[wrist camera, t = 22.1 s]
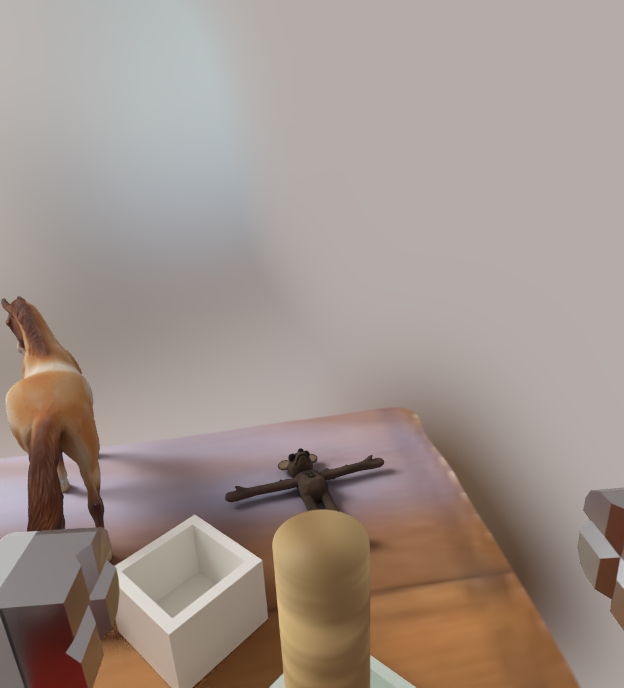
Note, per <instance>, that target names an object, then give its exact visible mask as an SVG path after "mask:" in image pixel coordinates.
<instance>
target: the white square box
mask: <svg viewBox="0 0 624 688" xmlns="http://www.w3.org/2000/svg"><path fill="white" fill-rule="evenodd" d="M114 567H116V569H117V574H118V579H119V593H120V595H119V603H118V611H117V615H116V619H115V620H116V624H117V629H118V632H119V633H120V634H121V635H122V636H123V637H124V638H125V639H126V640H127V641H128V642H129V643H130V644H131V645H132V646H133V647H134V649H135V650H136V651H137V652H138V653H139V654H140V655H141V656H142V657H143V658H144V659H145V660H146V661H147V662H148V663H149V664H150V666H151V667H152V668H153V669H154V670H155V671H156V672H157V673H158V674H159V675H160V676H161V677H162V678H163V679H164V680H165V681H166V682H167V684H168V685H169V686H170V687H171V688H193V687H194V686H195V685H196V684H197V683H198V682H199V681H200V680H201V679H202V678H204V677H205V676H206V675H207V674H208V673H209V672H210V671H211V670H212V669H213V668H215V667H216V666H217V665H218V664H219V663H220V662H221V661H222V660H223V659H224V658H226V657H227V656H228V655H229V654H230V653H231V652H232V651H233V650H234V649H235V648H237V647H238V646H239V645H240V644H241V643H242V642H243V641H244V640H245V639H246V638H248V637H249V636H250V635H251V634H252V633H253V632H254V631H255V630H256V629H257V628H259V627H260V626H261V625H262V624H263V623H264V622H265V621H266V620H267V619H268V612H267V602H266V592H265V582H264V572H263V562H262V560H261V559H260V558H258V557H257V556H255V555H254V554H252V553H251V552H249V551H248V550H246V549H245V548H244V547H242V546H241V545H239V544H238V543H236V542H235V541H233V540H232V539H230V538H229V537H227V536H226V535H224V534H223V533H221V532H220V531H218V530H217V529H216V528H214V527H213V526H211V525H210V524H208V523H207V522H205V521H204V520H202V519H201V518H199V517H198V516H196V515H193V516H192V517H190V518H189V519H187V520H186V521H184V522H182V523H181V524H179V525H178V526H176V527H175V528H173V529H171V530H170V531H168V532H167V533H165V534H164V535H162V536H161V537H159V538H157V539H156V540H154V541H153V542H151V543H150V544H148V545H147V546H145V547H143V548H142V549H140V550H139V551H137V552H136V553H134V554H132V555H131V556H129V557H128V558H126V559H125V560H123V561H122V562H120V563H118V564H117V565H115V566H114Z"/></svg>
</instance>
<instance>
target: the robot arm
mask: <svg viewBox="0 0 624 688" xmlns="http://www.w3.org/2000/svg"><path fill="white" fill-rule="evenodd" d="M583 510H584V512H585V513H586V515H587V516H588V517H589V519H590V521H589V522H588V523H587V524H586V525H585V526H584V527H583V528H582V529H581V530H580V533H579V541H578V552H579V558H580V563H581V566H582V568H583V571H584V573H585V575H586V577H587V579H588V580H589V581H590V583H591V584H592V586H593V587H594V589H596V590H597V591H599V592H600V593H602V594H604V595H606V596H607V597H609V598H611V599H612V601H611V610H610V611H611V613H612V614H613V616H614V617H615V619H616V620H617V621H618V623H619V624H620V626H621V627H622V628H623V630H624V488H614V489H602V490H591V491H590V492H589V494H588V495H587V497H586V499H585V504H584V509H583ZM110 549H111V543H110V540H109V536H108V532H107V530H105V529H104V528H102V527H96V528H77V529H58V530H42V531H29V532H13V533H9V534H7V535H6V536H4V537H2V539H1V540H0V688H93V685H94V682H95V679H96V676H97V673H98V670H99V667H100V664H101V661H102V658H103V655H104V654H103V650H102V646H101V642H100V640H101V639H102V638H104V637H105V636H106V635H107V634H108V633H109V632H110V631H111V630H112V628H113V625H114V622H115V619H116V615H117V611H118V603H119V595H120V593H119V579H118V574H117V569H116V567H114V566H113V565H112V564H111V563H110V562H109V561H107V560H106V559H107V557H108V554H109V552H110Z"/></svg>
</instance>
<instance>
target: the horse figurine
mask: <svg viewBox="0 0 624 688" xmlns="http://www.w3.org/2000/svg"><path fill="white" fill-rule="evenodd" d="M1 304H2V306H3V308H4V309H5V310H6V311H8V312H9V315H8V319H7V321H6V324H7V325H8V326H9V327H10V329H11V330H12V331H13V333H14V334H15V336H16V337H17V340H18V348H17V350H18V351H19V352H20V353H22V354H23V355H24V358H23V368H22V377H23V379H22V380H21V381H19V382H17V383H16V384H15V385H14V386H12V387H11V389H10V390H9V391H8V393H7V395H6V410H7V417H8V423H9V426H10V428H11V431H12V433H13V435H14V436H15V438H16V439H17V441H18V443H19V445H20V446H21V448H22V449H23V450H25V451H26V452H27V453H28V455H29V461H30V465H29V471H28V506H29V507H28V518H29V520H28V527H27V532H29V531H42V530H58V529H65V519H64V515H63V498H64V496H63V494H62V492H65V491H67V490H68V489H69V488H70V484H69V481H68V479H67V472H66V469H65V466H64V462H63V457H62V452H64V453H65V454H66V455H68V456H69V457H70V458H71V459H72V460H74V461H75V462H76V463H77V464H78V466H79V469H80V473H81V476H82V478H83V480H84V484H85V486H86V488H87V491H88V509H89V512H90V514H91V516H92V518H93V520H94V522H95V526H96V527H102V528H104V521H103V515H104V506H103V502H102V499H101V497H100V495H99V492H100V468H99V463H98V455H99V450H100V445H99V438H98V435H97V430H96V425H95V421H94V415H93V408H92V406H93V395H92V390H91V387H90V385H89V383H88V382H87V380H86V378H84V376H82V372H81V369H80V368H79V365H78V364H77V362H76V360H75V359H74V357H73V356H72V355H71V354H70V353H69V352H68V351H67V350H65V349H64V348H63V347H62V346H61V345H60V344H59V342H58V341H57V340H56V338H55V337H54V335H53V333H52V332H51V330H50V329H49V327H48V325H47V324H46V322H45V320H44V319H43V317H42V315H41V314H40V313H39V311H38V310H37V309H36V308H35V307H34V306H33V305H32V304H30V303H28V302H26V301H25V300H24V299H23V298H21V297H19V296H18V297H17V299H16V300H15V301H13V302H12V303H11V304H9V303H8V302H7V301H6V300H5V299H2V301H1ZM111 559H112V552H111V549H110V552H109V554H108V557H107V559H106V560H107V561H109V562H110V561H111Z"/></svg>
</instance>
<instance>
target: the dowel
mask: <svg viewBox="0 0 624 688" xmlns="http://www.w3.org/2000/svg"><path fill="white" fill-rule="evenodd" d="M272 547H273V559H274V570H275V582H276V593H277V604H278V615H279V627H280V638H281V649H282V660H283V672H284V683H285V688H370V541H369V536H368V533H367V531H366V529H365V528H364V526H363V525H362V524H361V523H360V522H359V521H357V520H356V519H355V518H353V517H351V516H349V515H347V514H345V513H342V512H338V511H333V510H312V511H307V512H303V513H300V514H298V515H295V516H293V517H291V518H290V519H288V520H287V521H285V522H284V523H283V524H282V525H281V526H280V527H279V528H278V530H277V531H276V533H275V535H274V538H273V543H272Z"/></svg>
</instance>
